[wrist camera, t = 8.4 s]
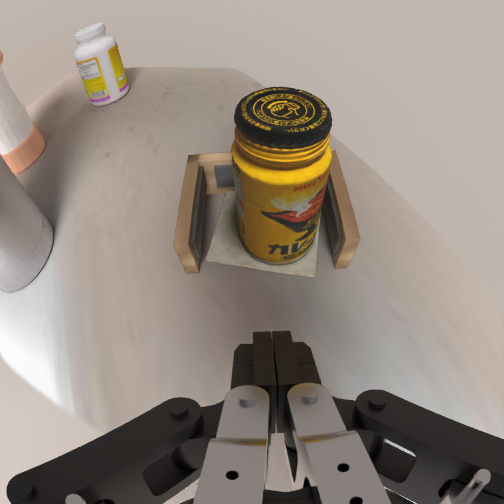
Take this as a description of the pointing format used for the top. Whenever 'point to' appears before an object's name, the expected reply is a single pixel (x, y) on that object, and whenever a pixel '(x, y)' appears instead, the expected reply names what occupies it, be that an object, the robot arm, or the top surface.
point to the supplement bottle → (100, 65)
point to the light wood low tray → (221, 181)
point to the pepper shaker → (17, 130)
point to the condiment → (275, 183)
